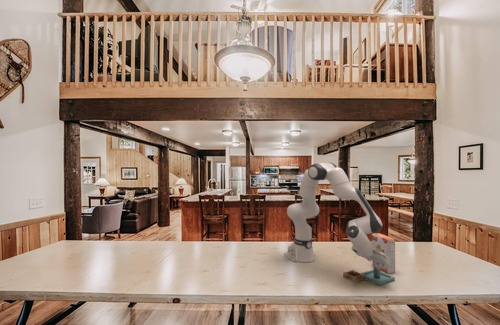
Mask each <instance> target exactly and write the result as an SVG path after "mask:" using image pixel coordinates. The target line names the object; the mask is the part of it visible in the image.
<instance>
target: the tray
mask: <svg viewBox="0 0 500 325" xmlns="http://www.w3.org/2000/svg"><path fill="white" fill-rule="evenodd" d="M360 273H361V274H363V275H364V280H365V281H369V282H370V283H371V284H375V285H377V286H380V287H381V286H384V285H387V284H390V283H393V282H395V281H396V277H395V276H392V275H390V274H387V273H385V272H383V271H380V279H376V278H374V277H373V269H370V270H367V271H363V272H360Z"/></svg>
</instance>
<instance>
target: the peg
mask: <svg viewBox="0 0 500 325" xmlns="http://www.w3.org/2000/svg"><path fill="white" fill-rule="evenodd" d="M372 266H373V267H372V270H373V277H374V278H376V279H380V272H381V270H380V263H378V262H375V261H373V265H372Z"/></svg>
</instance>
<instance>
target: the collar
mask: <svg viewBox="0 0 500 325" xmlns="http://www.w3.org/2000/svg"><path fill="white" fill-rule="evenodd" d="M361 273H362V272H358V271H356V270H353V269H352V270H348V271H345V272H343V276H342V277H343V278H345V279H347V280H349V281H351V282H353V283H357V282H360V281H363V280H365V279H364V275H363V274H361Z"/></svg>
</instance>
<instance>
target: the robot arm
mask: <svg viewBox="0 0 500 325" xmlns="http://www.w3.org/2000/svg"><path fill="white" fill-rule="evenodd" d="M325 180H326V181H328V183H329V184H330V186H331V189H332V192H333V194H334V196H335V197H337V198H338V199H341V200H351V201H353V200H354V201H356V202H357V203H359V205H360V207H361V208H362V210H363V212H364V213H365V216H362V217H361V216H360V217H359V218H355V219H352V220H348V223H347V224H346V236H347V238H348V240H349V241H350V243H351V244H352V246H351V248H350V249H351V250H352V251H353V253H355V255H357V256H359V257H361V258H363V259H365V260H367V261H368V262H369V263H370V262H371V263H372V261H375V262H378V263H380V264H382V266H383V267H386V266H389V264H390V263H391V260H390V259H389V257H388V256H387V255H386V254H384V253H382V252H379V251H376V250H375V246H374V245H373V244H372V240H370V239H369V237H368V236H367V235H369V234H374V233H380V232H381V231H382V229H383V227H384V225H383V222H382V220H381V218H380V217H379V216H378V215H377V213H376V212H375V210H374V209H373V207H372V206H371V204H370V203H369V202H368V200H367V199H366V196H365V195H364V194H363V192H362V191H361V190H360V189H359V188H355V187H354V186H353V185H352V184H351V182H350V180H349V177H348V176H347V173H346V171H344V169H343V168H341V167H338V166H337V165H336V164H334V163H333V162H319V163H314V164H312V165H310V166H309V167H308V168H307V169H306V170H305V171H304V174H303V176H302V179H301V182H300V183H301V184H300V188H299V192H298V193H299V195H300V197H301V198H302V202H298V203H297V202H296V203H292V204H289V205H288V207H287V209H286V213H287V214H286V215H287V216H288V218H289V219H290V220H291V221H292V222H293V224H294V231H295V237H294V238H292V240H294V241H293V242H292V243H291V244H289V245H288V247H287V251H286V252H284V253H283V255H284V256H286V257H287V258H288V259H289V260H290V261H292V262H298V263H312V262H313V261H314V260H315V255H314V249H313V248H314V246H313V238H312V237H313V235H312V233H313V232H312V230H313V229H312V226H311V225H310V224H308V223H307V219H311V218H314V217H317V216H318V215H319V213H320V206H319V205H318V203H317V202H316V201H317V200H316V196H317V191H318V186H319V182H320V181H325Z"/></svg>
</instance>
